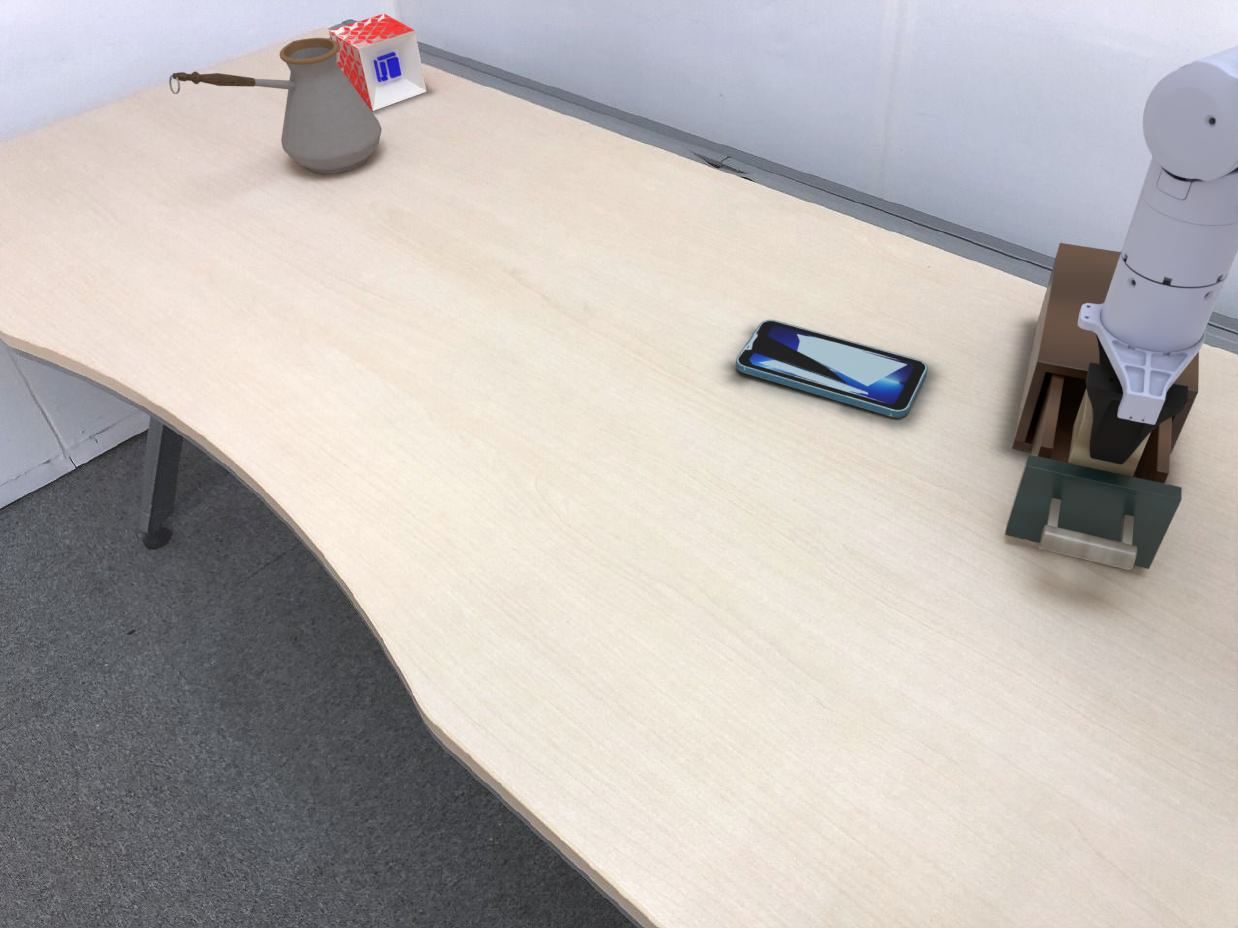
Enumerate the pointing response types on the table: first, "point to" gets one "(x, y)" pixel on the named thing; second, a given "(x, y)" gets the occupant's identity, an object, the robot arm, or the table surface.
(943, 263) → the table surface
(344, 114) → the coffee pot
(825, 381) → the smartphone
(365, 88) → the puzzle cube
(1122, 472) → the block
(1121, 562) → the drawer
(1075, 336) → the cabinet
